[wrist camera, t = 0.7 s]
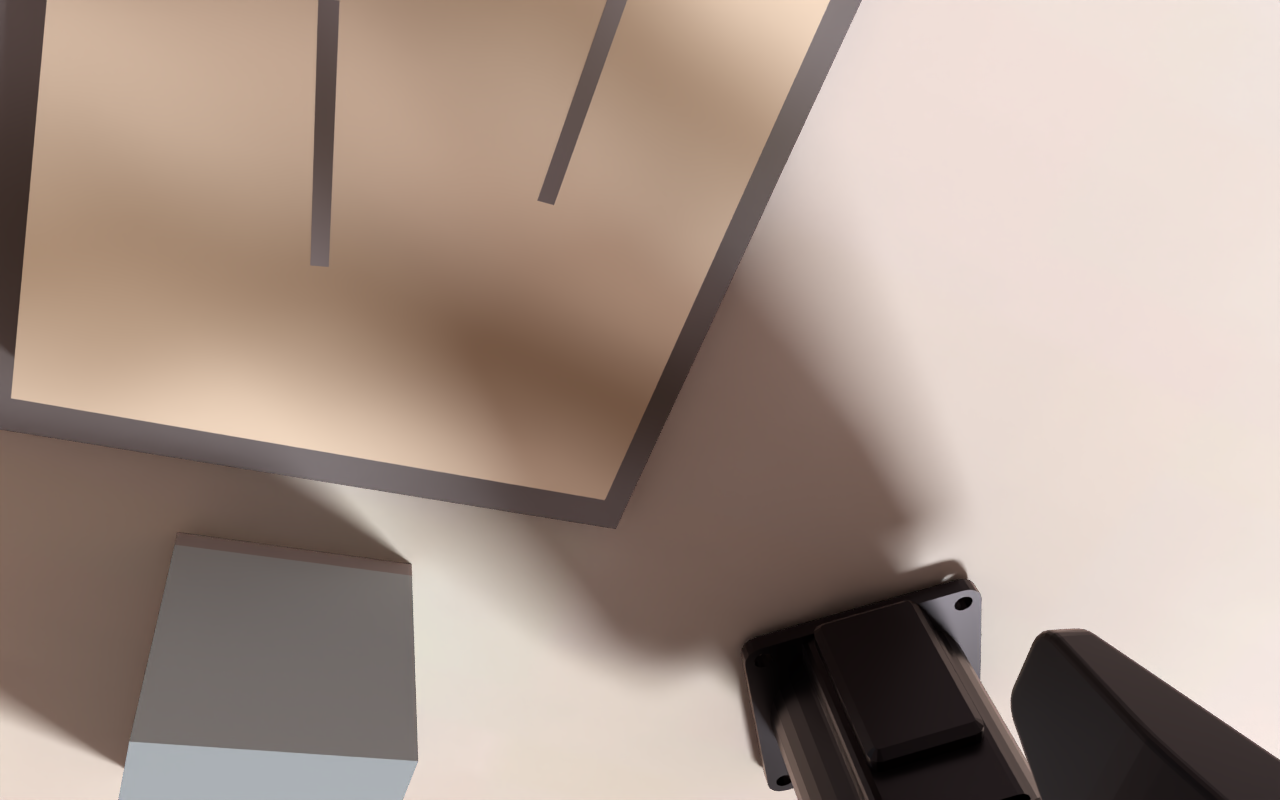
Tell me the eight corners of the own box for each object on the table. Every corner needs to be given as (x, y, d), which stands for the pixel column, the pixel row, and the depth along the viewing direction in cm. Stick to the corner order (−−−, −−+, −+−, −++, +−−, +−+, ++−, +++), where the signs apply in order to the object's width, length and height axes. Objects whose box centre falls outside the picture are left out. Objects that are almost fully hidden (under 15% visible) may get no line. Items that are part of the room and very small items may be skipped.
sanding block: (336, 780, 28) (328, 989, 24) (132, 767, 26) (82, 991, 22) (411, 560, 24) (417, 761, 20) (178, 528, 23) (129, 742, 18)
